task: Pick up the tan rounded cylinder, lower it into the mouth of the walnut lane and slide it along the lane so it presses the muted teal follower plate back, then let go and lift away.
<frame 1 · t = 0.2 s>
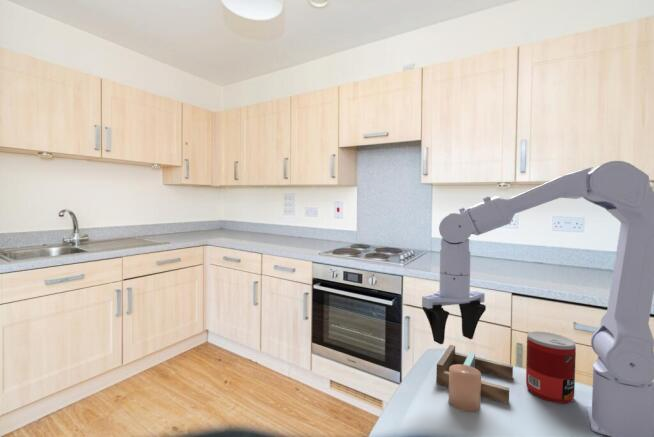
hand: (453, 339, 66), 10 cm above the countertop, tool pointing down, fingers open, 7 cm apart
canned food: (549, 394, 65), on the countertop
tan rounded cylinder: (464, 402, 61), on the countertop
lane: (478, 380, 69), on the countertop
follower plate: (468, 368, 70), point 2 cm above the countertop, slide at 0.0 cm
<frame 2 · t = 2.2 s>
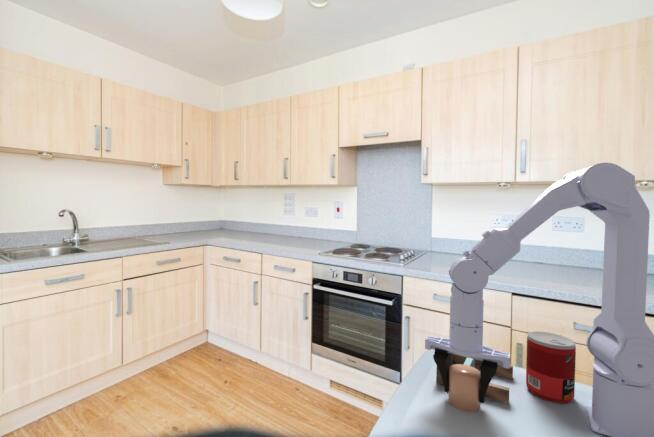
hand: (464, 395, 61), 1 cm above the countertop, tool pointing down, fingers closed on tan rounded cylinder, 5 cm apart
tan rounded cylinder: (464, 402, 61), on the countertop, touching gripper
everything else where it was.
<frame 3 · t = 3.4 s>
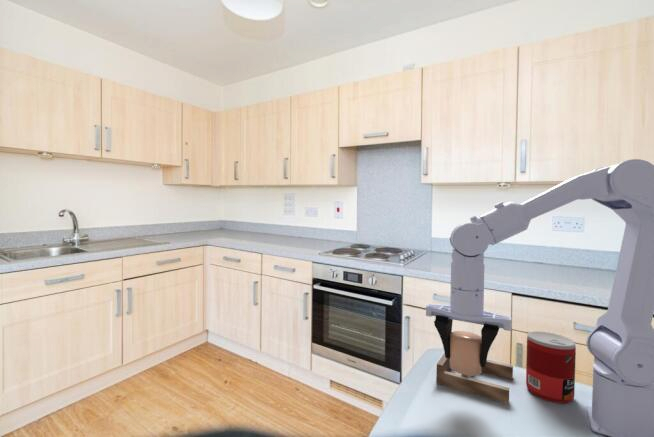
hand: (465, 360, 61), 8 cm above the countertop, tool pointing down, fingers closed on tan rounded cylinder, 5 cm apart
tan rounded cylinder: (465, 368, 61), point 6 cm above the countertop, touching gripper
everything else where it was.
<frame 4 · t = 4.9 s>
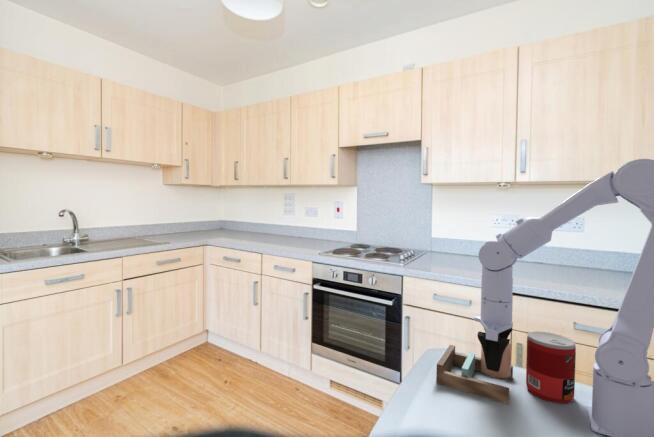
hand: (494, 364, 67), 4 cm above the countertop, tool pointing down, fingers closed on tan rounded cylinder, 5 cm apart
tan rounded cylinder: (495, 371, 67), point 3 cm above the countertop, touching gripper
everything else where it was.
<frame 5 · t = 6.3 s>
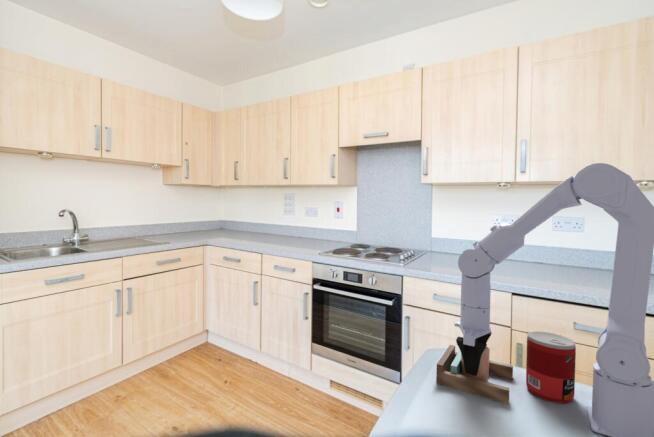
hand: (473, 368, 69), 2 cm above the countertop, tool pointing down, fingers closed on tan rounded cylinder, 5 cm apart
tan rounded cylinder: (474, 375, 69), point 1 cm above the countertop, touching gripper
follower plate: (458, 366, 71), point 2 cm above the countertop, slide at 2.1 cm
everything else where it was.
when the fingers open (2 cm above the countertop, at t = 7.7 s): tan rounded cylinder stays where it is, resting in lane.
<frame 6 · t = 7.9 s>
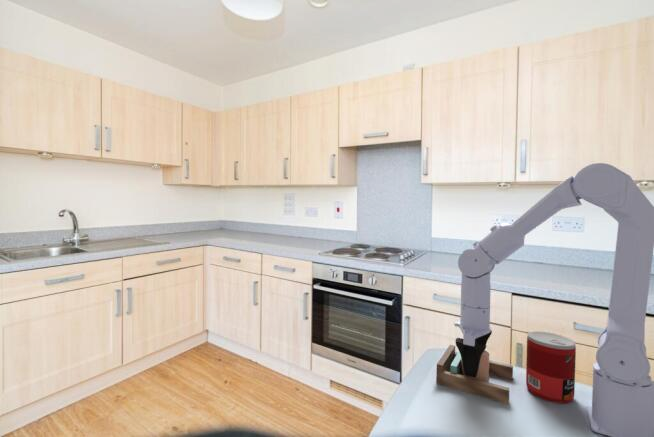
hand: (473, 368, 69), 2 cm above the countertop, tool pointing down, fingers open, 7 cm apart
tan rounded cylinder: (474, 379, 69), resting in lane
everything else where it was.
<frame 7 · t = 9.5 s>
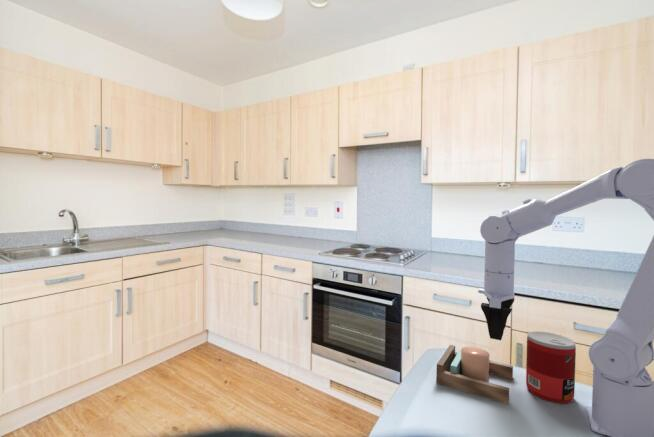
hand: (497, 333, 71), 9 cm above the countertop, tool pointing down, fingers open, 7 cm apart
nothing on the countertop moved.
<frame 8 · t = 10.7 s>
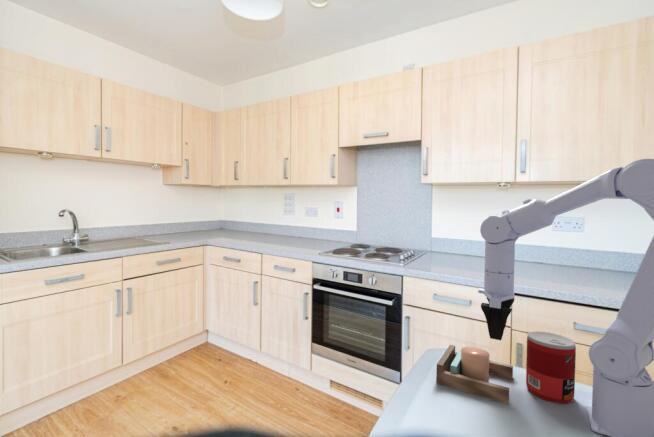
hand: (497, 333, 71), 9 cm above the countertop, tool pointing down, fingers open, 7 cm apart
nothing on the countertop moved.
at the end: tan rounded cylinder 0.4 cm from the target spot, resting in lane; follower plate slide at 2.2 cm; tan rounded cylinder tilted 0° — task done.
